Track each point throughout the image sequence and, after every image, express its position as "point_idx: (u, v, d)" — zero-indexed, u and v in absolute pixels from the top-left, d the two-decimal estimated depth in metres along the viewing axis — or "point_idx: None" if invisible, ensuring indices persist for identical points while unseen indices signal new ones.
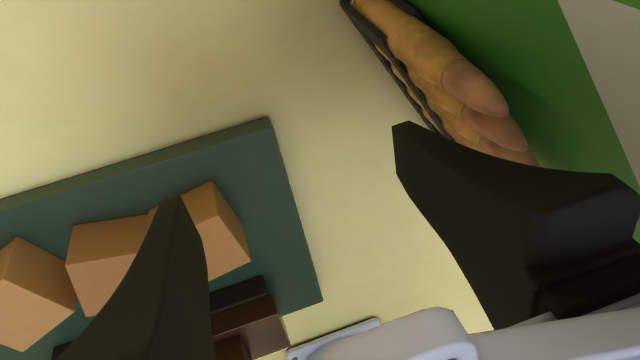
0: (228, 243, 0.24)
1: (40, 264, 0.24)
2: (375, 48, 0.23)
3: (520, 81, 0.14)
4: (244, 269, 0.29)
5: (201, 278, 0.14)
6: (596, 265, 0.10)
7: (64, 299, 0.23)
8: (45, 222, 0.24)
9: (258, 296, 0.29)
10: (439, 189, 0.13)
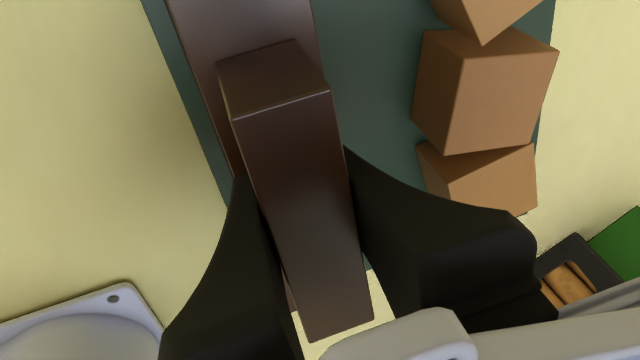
0: None
1: None
2: (554, 268, 0.30)
3: None
4: None
5: (275, 252, 0.14)
6: (495, 303, 0.10)
7: None
8: None
9: None
10: (361, 216, 0.13)
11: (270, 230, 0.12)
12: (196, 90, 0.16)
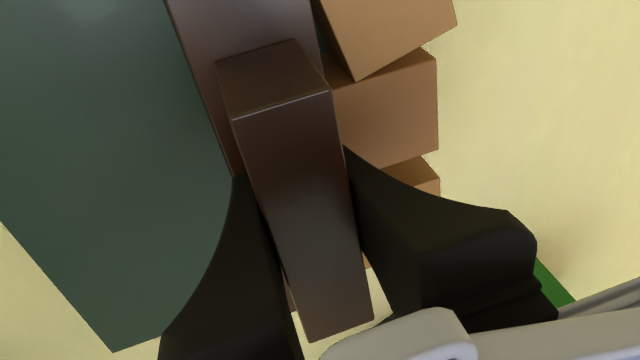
0: None
1: None
2: None
3: None
4: (193, 261, 0.22)
5: (275, 252, 0.14)
6: (495, 303, 0.10)
7: None
8: (323, 47, 0.17)
9: None
10: (361, 216, 0.13)
11: (270, 230, 0.12)
12: None
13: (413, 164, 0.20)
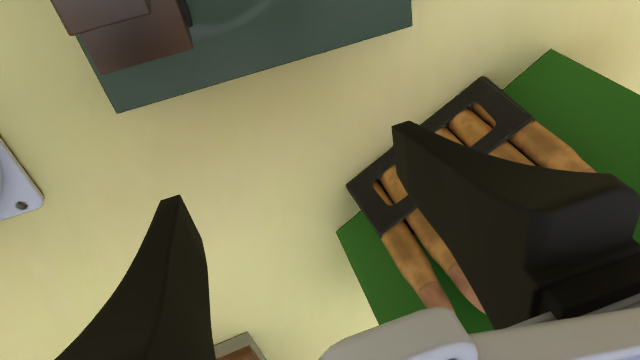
0: None
1: None
2: (458, 113, 0.27)
3: None
4: None
5: (201, 278, 0.14)
6: (596, 265, 0.10)
7: None
8: None
9: (186, 14, 0.19)
10: (439, 189, 0.13)
11: None
12: None
13: None
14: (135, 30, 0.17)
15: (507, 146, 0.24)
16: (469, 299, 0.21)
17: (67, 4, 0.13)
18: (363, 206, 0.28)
